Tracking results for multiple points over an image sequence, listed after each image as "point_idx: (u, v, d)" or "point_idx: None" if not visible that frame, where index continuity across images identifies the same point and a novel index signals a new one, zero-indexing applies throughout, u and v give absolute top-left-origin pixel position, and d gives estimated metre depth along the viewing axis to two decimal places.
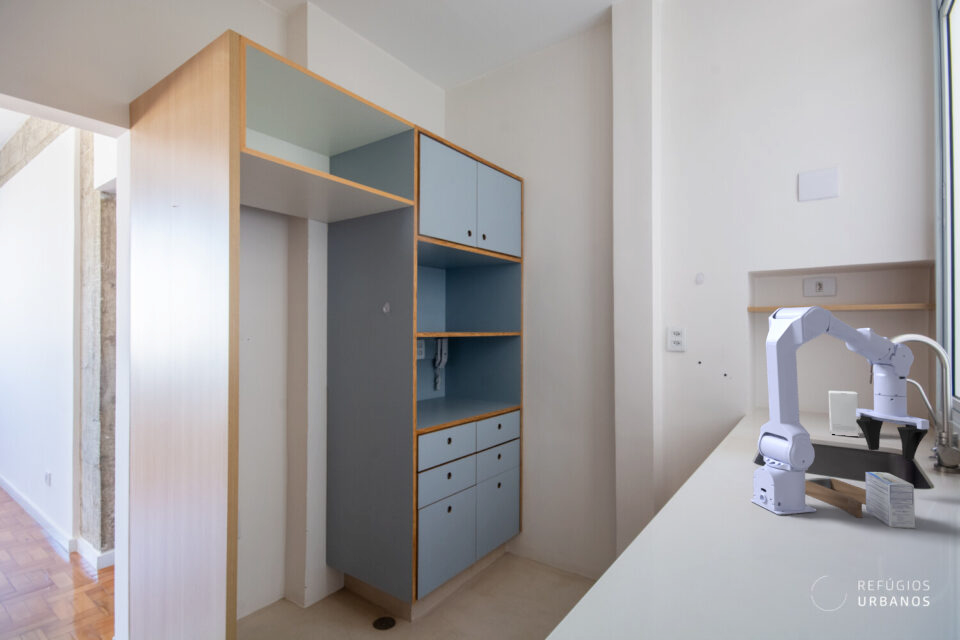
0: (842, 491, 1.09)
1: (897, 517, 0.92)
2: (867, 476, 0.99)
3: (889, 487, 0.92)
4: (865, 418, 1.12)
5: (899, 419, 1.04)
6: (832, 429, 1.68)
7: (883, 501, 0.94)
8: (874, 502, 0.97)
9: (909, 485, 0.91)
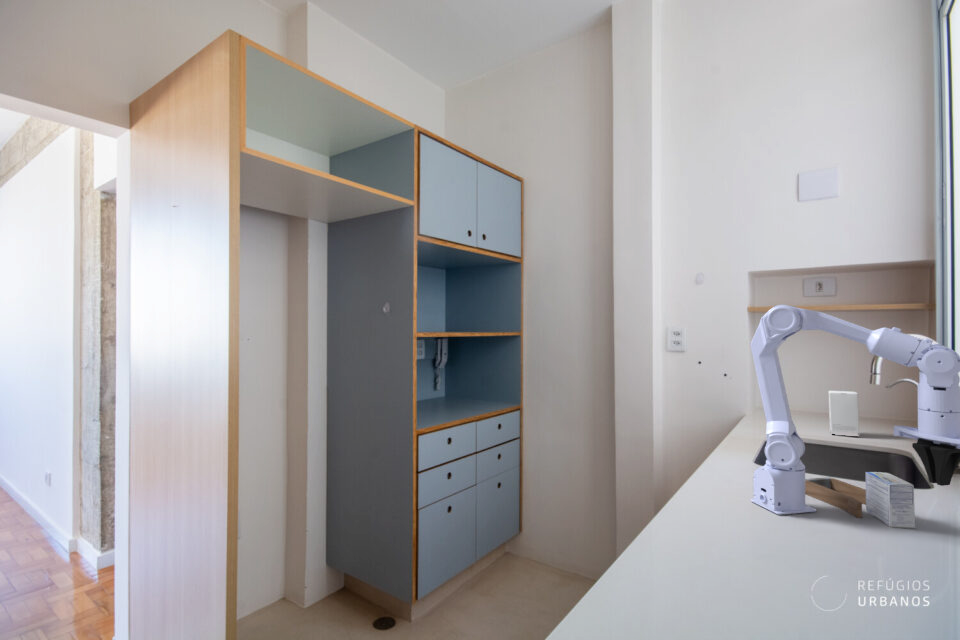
0: (842, 491, 1.09)
1: (897, 517, 0.92)
2: (867, 476, 0.99)
3: (889, 487, 0.92)
4: None
5: (952, 441, 0.83)
6: (832, 429, 1.68)
7: (883, 501, 0.94)
8: (874, 502, 0.97)
9: (909, 485, 0.91)
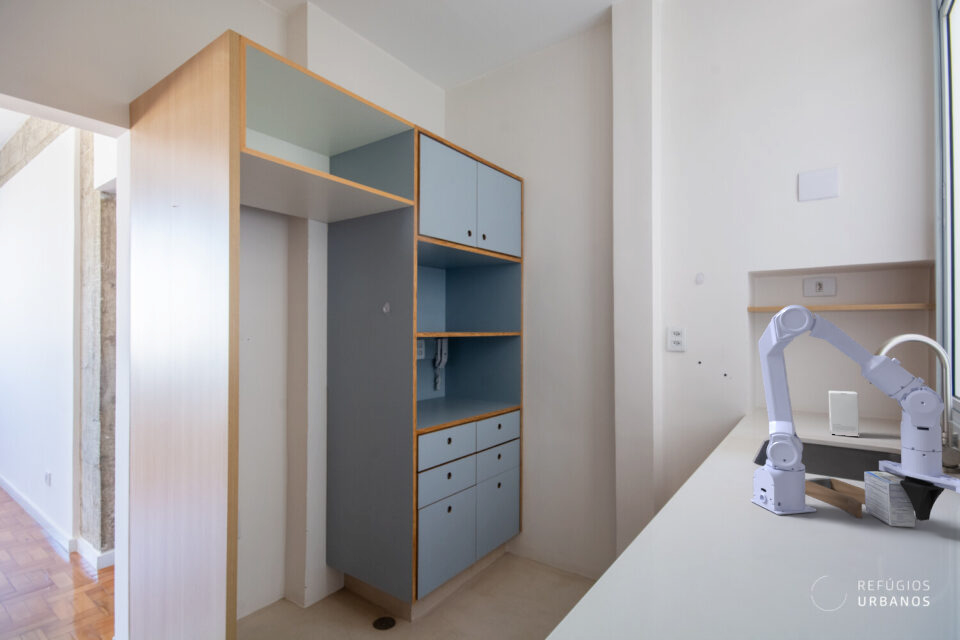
0: (842, 491, 1.09)
1: (896, 516, 0.92)
2: (866, 476, 0.99)
3: (888, 485, 0.92)
4: None
5: (934, 480, 0.86)
6: (832, 429, 1.68)
7: (882, 500, 0.94)
8: (873, 501, 0.97)
9: None
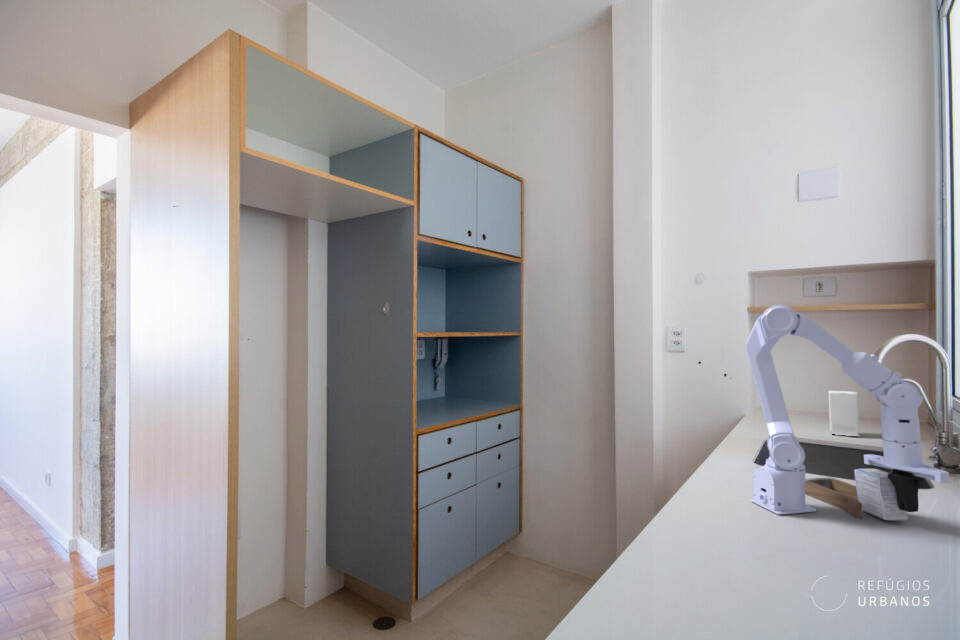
0: (842, 491, 1.09)
1: (889, 509, 0.93)
2: (856, 473, 1.01)
3: (879, 479, 0.94)
4: None
5: (913, 470, 0.89)
6: (832, 429, 1.68)
7: (874, 495, 0.96)
8: (866, 498, 0.98)
9: None
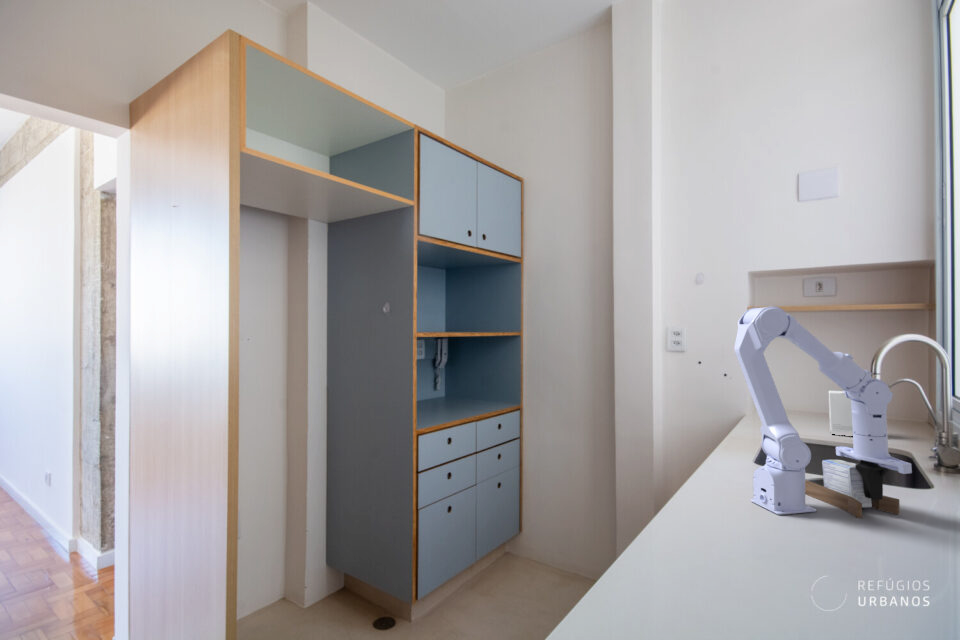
0: None
1: (857, 497, 1.00)
2: (824, 464, 1.07)
3: (849, 470, 1.00)
4: None
5: (880, 462, 0.96)
6: (832, 429, 1.68)
7: (843, 485, 1.02)
8: (833, 487, 1.05)
9: None
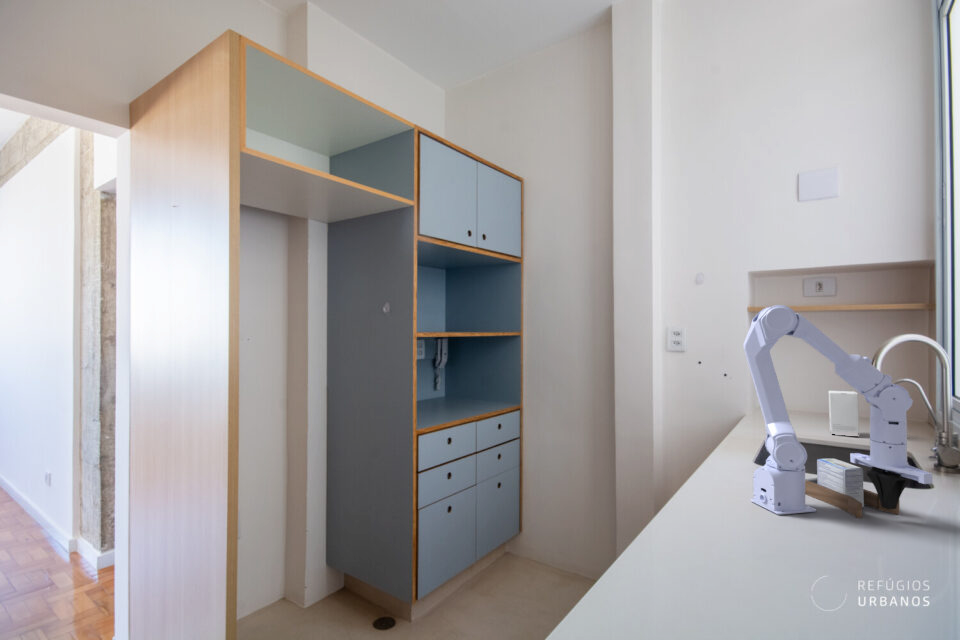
0: None
1: None
2: (819, 463, 1.08)
3: (845, 472, 1.01)
4: None
5: (898, 470, 0.92)
6: (832, 429, 1.68)
7: (838, 485, 1.03)
8: (827, 486, 1.06)
9: (859, 469, 1.02)
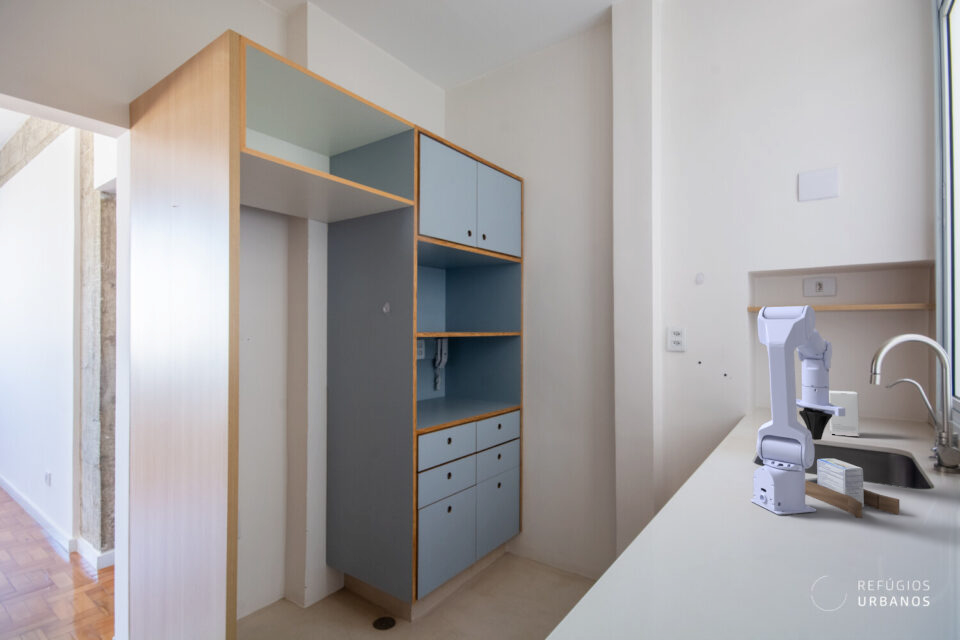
0: None
1: None
2: (819, 463, 1.08)
3: (845, 472, 1.01)
4: None
5: (821, 407, 1.16)
6: (832, 429, 1.68)
7: (838, 485, 1.03)
8: (827, 486, 1.06)
9: (859, 469, 1.02)
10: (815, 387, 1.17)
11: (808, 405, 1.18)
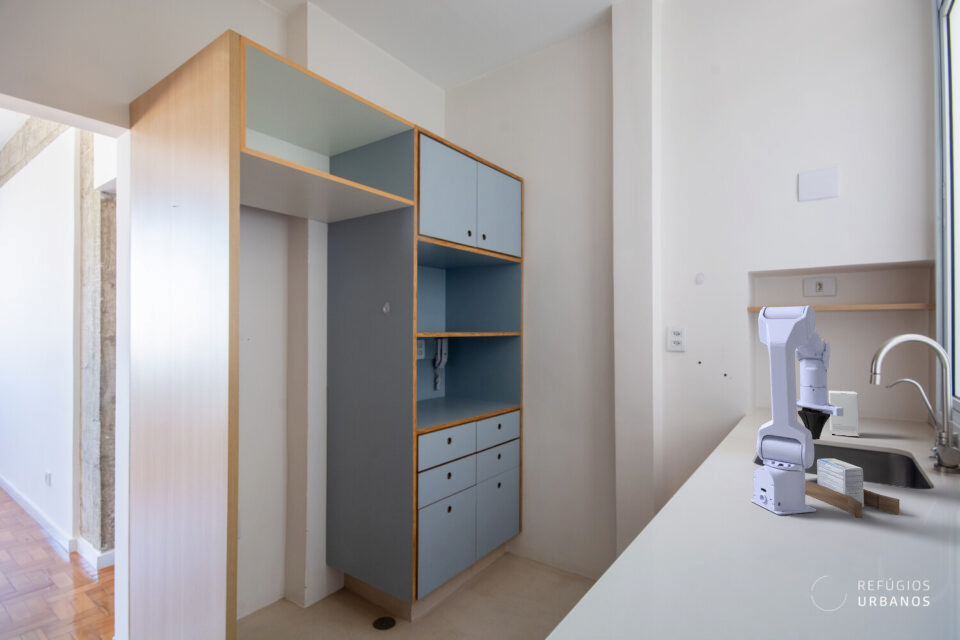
0: None
1: None
2: (819, 463, 1.08)
3: (845, 472, 1.01)
4: None
5: (819, 407, 1.17)
6: (832, 429, 1.68)
7: (838, 485, 1.03)
8: (827, 486, 1.06)
9: (859, 469, 1.02)
10: (813, 387, 1.18)
11: (806, 405, 1.19)
